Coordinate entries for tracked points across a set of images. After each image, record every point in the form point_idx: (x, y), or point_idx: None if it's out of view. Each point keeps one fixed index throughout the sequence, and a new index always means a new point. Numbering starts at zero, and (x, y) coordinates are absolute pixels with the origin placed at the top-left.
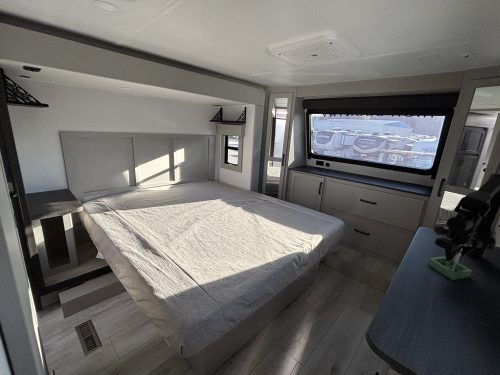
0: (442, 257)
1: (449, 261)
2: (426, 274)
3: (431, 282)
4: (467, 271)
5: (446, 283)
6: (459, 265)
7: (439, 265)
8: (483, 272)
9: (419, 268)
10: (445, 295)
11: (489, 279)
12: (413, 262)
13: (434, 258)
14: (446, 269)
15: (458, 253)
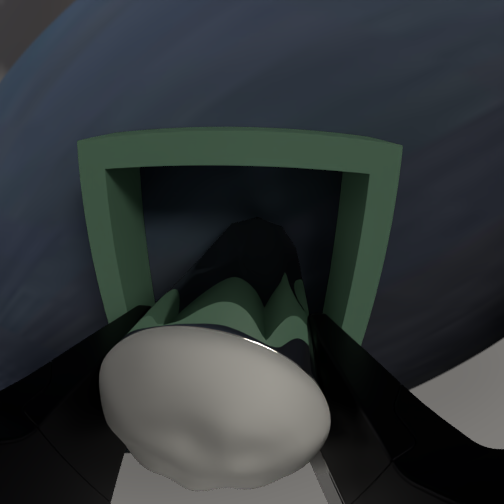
0: (306, 154)
1: None
2: (16, 247)
3: (7, 303)
4: None
5: (77, 336)
6: (343, 311)
7: (99, 259)
8: (483, 318)
9: (13, 182)
10: (23, 366)
11: (426, 367)
12: (26, 103)
13: (142, 151)
14: (111, 319)
15: (194, 490)
